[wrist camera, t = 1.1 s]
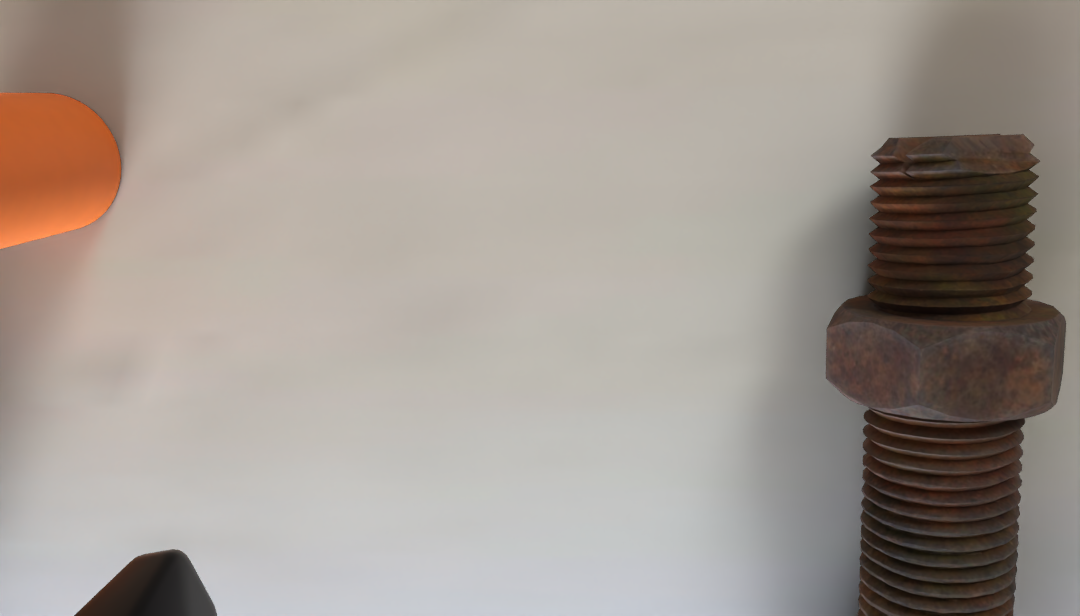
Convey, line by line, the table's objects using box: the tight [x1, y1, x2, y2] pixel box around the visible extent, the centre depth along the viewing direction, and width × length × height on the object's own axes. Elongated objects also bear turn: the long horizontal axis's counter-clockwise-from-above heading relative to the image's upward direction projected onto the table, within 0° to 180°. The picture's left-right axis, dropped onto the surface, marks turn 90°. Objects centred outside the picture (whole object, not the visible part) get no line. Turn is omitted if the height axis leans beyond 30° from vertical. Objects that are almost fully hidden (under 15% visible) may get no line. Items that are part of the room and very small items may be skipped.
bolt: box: [826, 134, 1066, 616], centre depth 21 cm, size 6×5×15 cm
